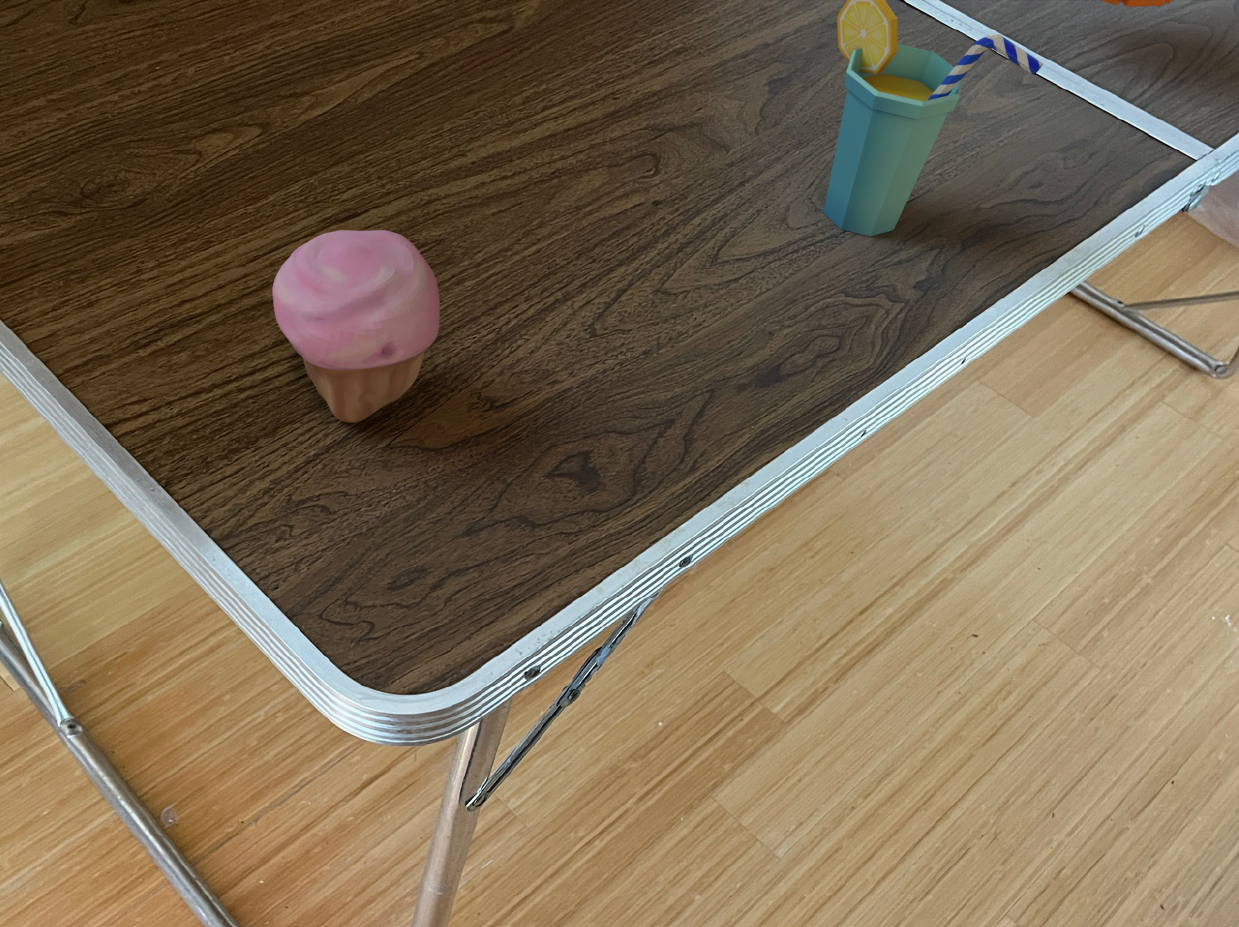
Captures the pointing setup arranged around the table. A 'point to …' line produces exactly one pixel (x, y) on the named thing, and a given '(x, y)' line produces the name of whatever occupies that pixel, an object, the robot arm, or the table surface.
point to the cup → (891, 114)
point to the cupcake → (358, 316)
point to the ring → (1138, 2)
